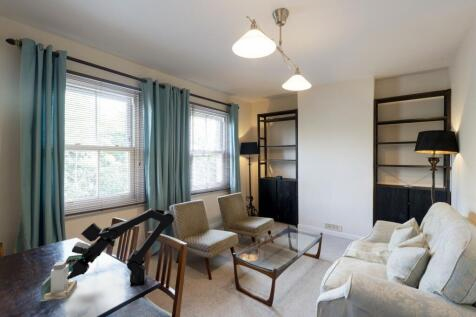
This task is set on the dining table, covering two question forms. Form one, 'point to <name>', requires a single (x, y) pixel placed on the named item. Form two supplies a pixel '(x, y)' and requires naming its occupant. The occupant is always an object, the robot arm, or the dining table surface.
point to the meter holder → (48, 295)
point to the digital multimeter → (72, 260)
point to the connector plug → (59, 277)
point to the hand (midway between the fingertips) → (71, 273)
